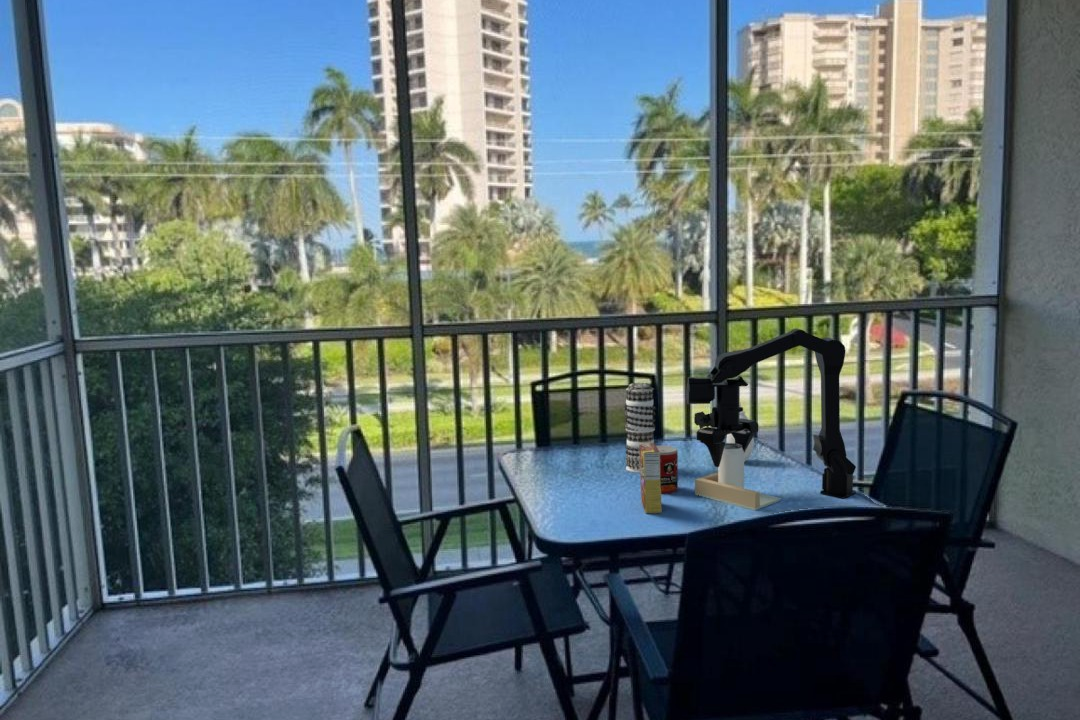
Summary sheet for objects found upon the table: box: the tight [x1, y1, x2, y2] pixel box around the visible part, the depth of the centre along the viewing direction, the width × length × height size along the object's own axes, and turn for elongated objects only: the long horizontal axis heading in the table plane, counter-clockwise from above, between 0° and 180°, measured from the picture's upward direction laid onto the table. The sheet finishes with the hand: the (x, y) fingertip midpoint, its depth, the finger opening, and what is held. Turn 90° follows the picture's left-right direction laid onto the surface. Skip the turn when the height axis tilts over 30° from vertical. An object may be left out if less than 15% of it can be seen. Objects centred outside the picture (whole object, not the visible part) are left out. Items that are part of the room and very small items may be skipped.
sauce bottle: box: [726, 402, 755, 462], centre depth 232 cm, size 8×8×18 cm
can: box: [717, 442, 745, 488], centre depth 202 cm, size 6×6×12 cm
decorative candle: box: [623, 382, 657, 474], centre depth 227 cm, size 9×9×25 cm
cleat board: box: [694, 471, 782, 511], centre depth 199 cm, size 18×11×4 cm, turn 41°
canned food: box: [656, 444, 679, 494], centre depth 207 cm, size 8×8×11 cm
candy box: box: [639, 442, 662, 514], centre depth 192 cm, size 9×4×15 cm, turn 0°
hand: (727, 463), depth 201 cm, fingers open, 9 cm apart
